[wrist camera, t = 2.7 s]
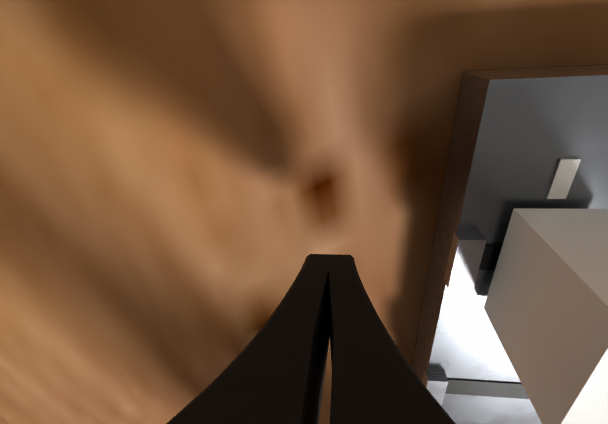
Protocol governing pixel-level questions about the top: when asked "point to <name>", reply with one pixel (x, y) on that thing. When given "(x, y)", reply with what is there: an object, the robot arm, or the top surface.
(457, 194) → the console
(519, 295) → the block
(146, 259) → the top surface
